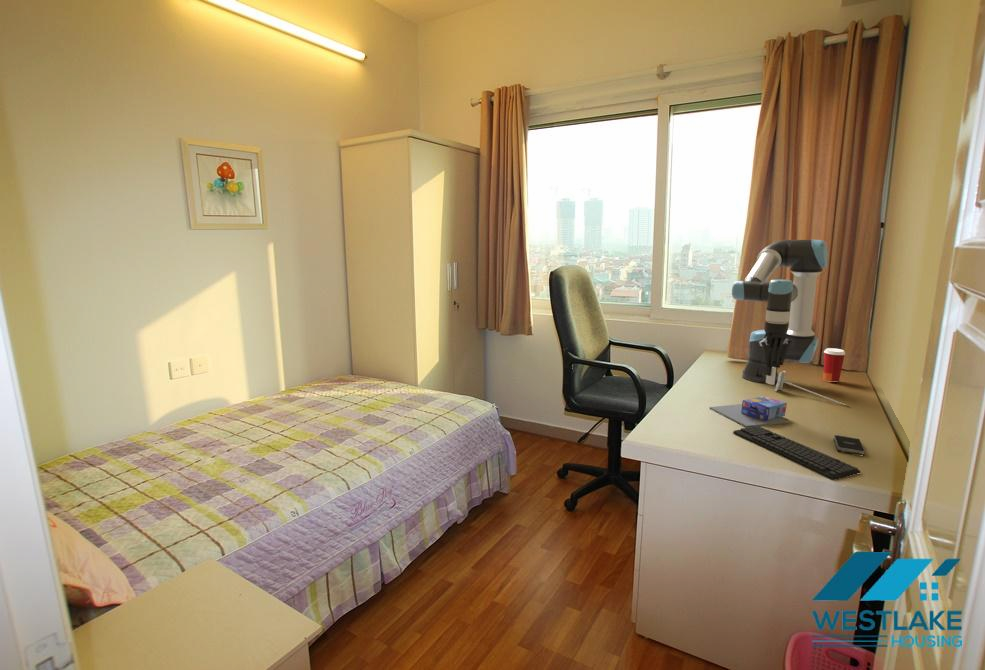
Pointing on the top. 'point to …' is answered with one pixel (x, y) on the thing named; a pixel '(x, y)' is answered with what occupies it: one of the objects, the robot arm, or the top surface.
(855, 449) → the external hard drive
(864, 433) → the top surface
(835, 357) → the coffee cup
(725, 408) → the mat
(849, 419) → the top surface
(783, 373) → the brush
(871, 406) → the top surface
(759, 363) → the robot arm
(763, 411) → the ink cartridge box
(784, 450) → the keyboard
